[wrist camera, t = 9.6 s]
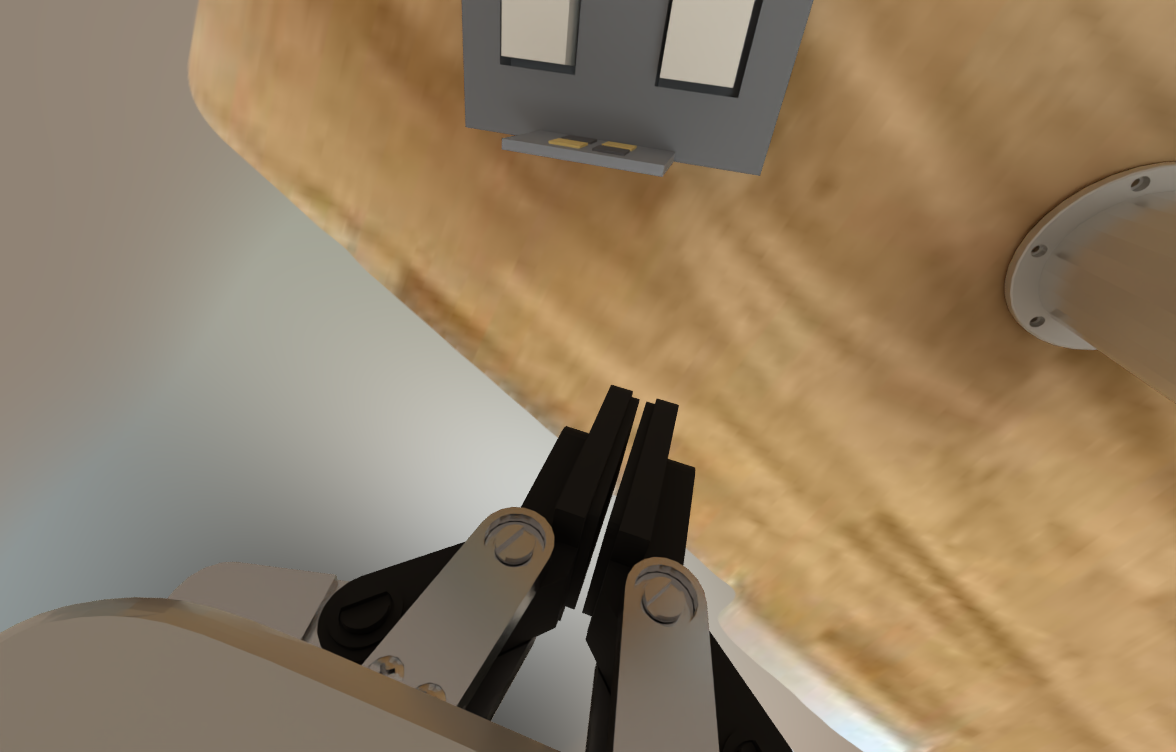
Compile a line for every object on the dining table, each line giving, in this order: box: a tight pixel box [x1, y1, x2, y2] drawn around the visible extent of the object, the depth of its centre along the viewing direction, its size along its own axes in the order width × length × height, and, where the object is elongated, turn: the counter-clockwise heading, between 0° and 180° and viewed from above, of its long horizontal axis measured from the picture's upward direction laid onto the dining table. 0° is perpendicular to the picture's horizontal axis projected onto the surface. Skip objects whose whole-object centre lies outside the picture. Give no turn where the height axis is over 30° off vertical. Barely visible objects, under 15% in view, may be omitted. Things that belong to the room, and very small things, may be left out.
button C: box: [660, 0, 755, 88], centre depth 27 cm, size 4×4×2 cm
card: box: [502, 130, 676, 177], centre depth 30 cm, size 10×1×7 cm, turn 83°
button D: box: [501, 0, 580, 66], centre depth 30 cm, size 4×4×2 cm
